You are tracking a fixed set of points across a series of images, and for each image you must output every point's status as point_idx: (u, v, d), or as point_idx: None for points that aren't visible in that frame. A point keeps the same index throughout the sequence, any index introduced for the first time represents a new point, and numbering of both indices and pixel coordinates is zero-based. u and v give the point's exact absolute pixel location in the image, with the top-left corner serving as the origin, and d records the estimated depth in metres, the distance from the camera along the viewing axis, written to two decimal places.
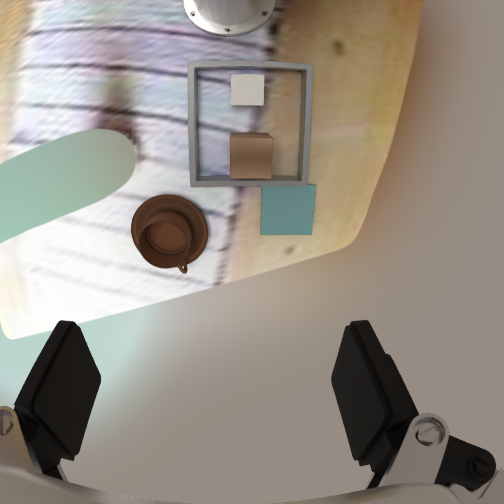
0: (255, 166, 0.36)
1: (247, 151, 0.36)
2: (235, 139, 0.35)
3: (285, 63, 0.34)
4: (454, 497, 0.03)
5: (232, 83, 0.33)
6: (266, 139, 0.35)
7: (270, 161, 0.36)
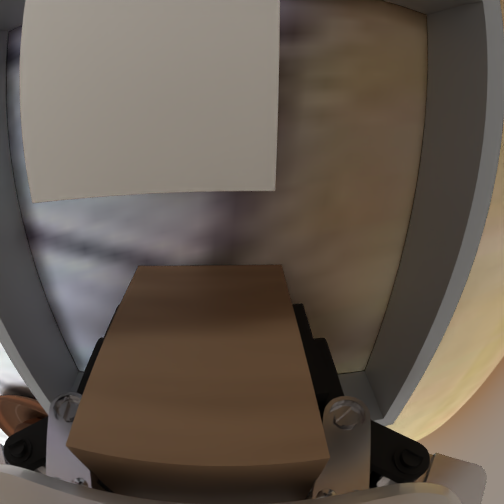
0: None
1: (180, 488, 0.05)
2: (95, 455, 0.04)
3: None
4: (454, 497, 0.03)
5: (29, 38, 0.03)
6: (289, 465, 0.04)
7: (298, 498, 0.06)
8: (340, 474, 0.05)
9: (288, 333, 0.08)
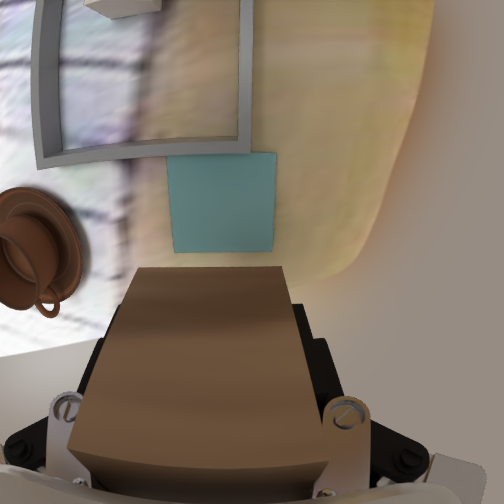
0: None
1: (181, 490, 0.05)
2: (95, 458, 0.04)
3: None
4: (454, 497, 0.03)
5: None
6: (289, 467, 0.04)
7: (298, 500, 0.06)
8: (340, 474, 0.05)
9: (288, 335, 0.08)
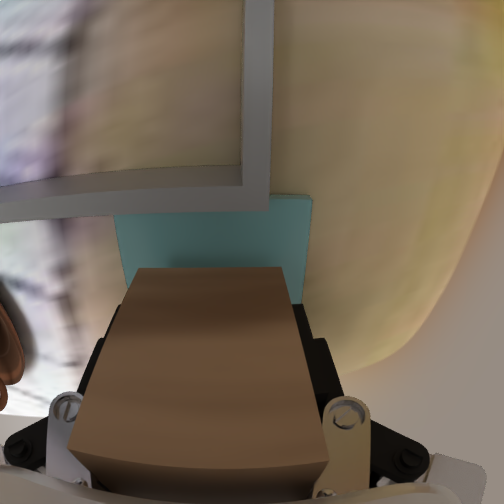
0: None
1: (181, 490, 0.05)
2: (96, 458, 0.04)
3: None
4: (454, 497, 0.03)
5: None
6: (289, 467, 0.04)
7: (298, 500, 0.06)
8: (340, 474, 0.05)
9: (288, 336, 0.08)
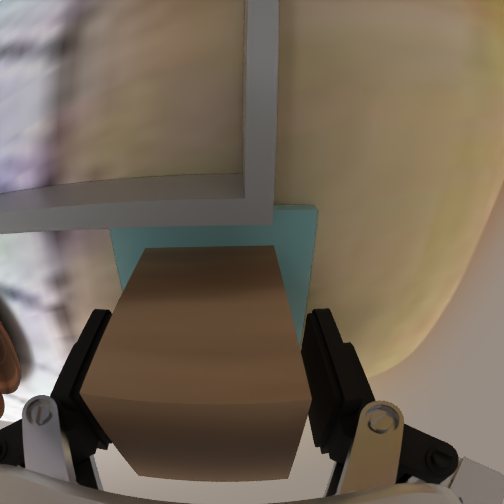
0: (226, 467, 0.07)
1: (180, 438, 0.06)
2: (105, 401, 0.06)
3: None
4: (454, 497, 0.03)
5: None
6: (276, 405, 0.06)
7: (289, 454, 0.07)
8: (380, 478, 0.05)
9: (277, 299, 0.09)
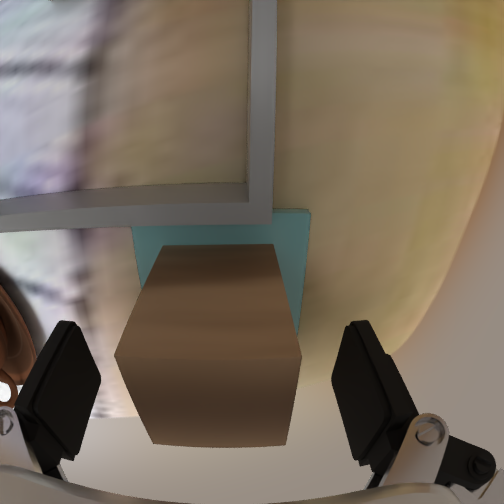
0: (232, 429, 0.09)
1: (195, 396, 0.08)
2: (136, 361, 0.07)
3: None
4: (454, 497, 0.03)
5: None
6: (273, 361, 0.08)
7: (286, 416, 0.09)
8: None
9: (275, 285, 0.11)
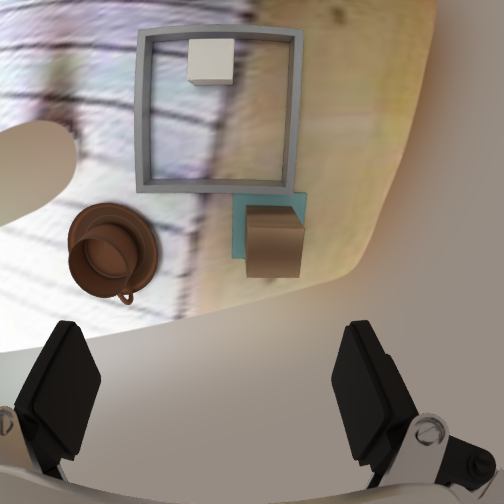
0: (280, 264, 0.29)
1: (271, 245, 0.28)
2: (255, 229, 0.27)
3: (265, 27, 0.23)
4: (454, 497, 0.03)
5: (190, 51, 0.23)
6: (296, 230, 0.27)
7: (299, 257, 0.29)
8: None
9: (294, 216, 0.31)
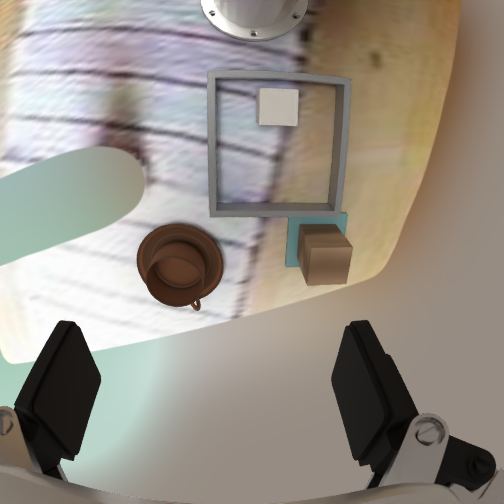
0: (333, 274, 0.36)
1: (327, 260, 0.35)
2: (316, 249, 0.34)
3: (321, 76, 0.29)
4: (454, 497, 0.03)
5: (261, 99, 0.29)
6: (346, 248, 0.34)
7: (347, 268, 0.36)
8: None
9: (341, 234, 0.37)
